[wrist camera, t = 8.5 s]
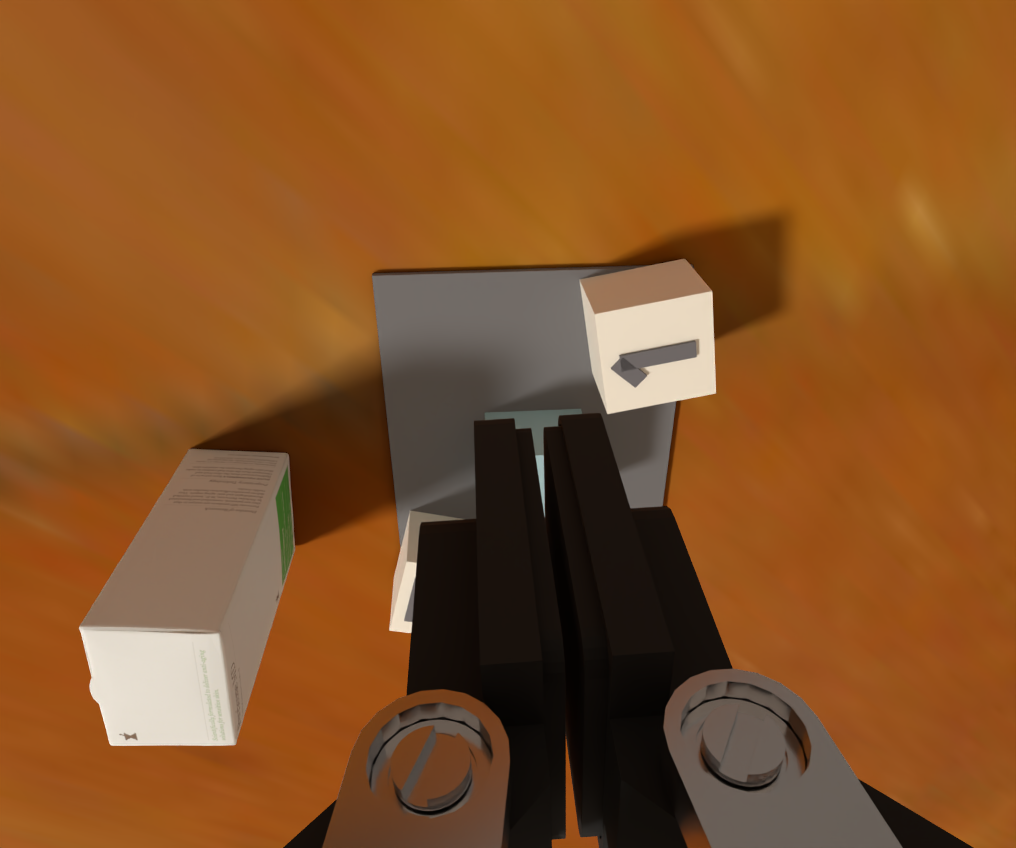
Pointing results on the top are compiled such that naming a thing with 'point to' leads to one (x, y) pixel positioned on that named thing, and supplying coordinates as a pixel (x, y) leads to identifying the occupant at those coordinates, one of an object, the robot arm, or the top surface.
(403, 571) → the digit block seven
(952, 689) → the top surface
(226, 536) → the skincare box
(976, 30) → the top surface
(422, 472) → the mat
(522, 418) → the plain block
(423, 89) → the top surface
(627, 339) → the digit block one
